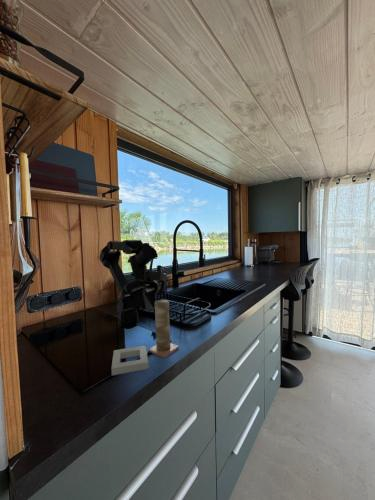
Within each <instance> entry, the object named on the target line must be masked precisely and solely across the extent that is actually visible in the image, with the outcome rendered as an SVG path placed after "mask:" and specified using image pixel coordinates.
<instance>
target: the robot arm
mask: <svg viewBox="0 0 375 500" xmlns="http://www.w3.org/2000/svg"><path fill="white" fill-rule="evenodd" d="M121 251H122V253H123V254H125V255H130V256H129V258H128V259H127V264H129V263H130V264H129V265H130V269H131V271H132V272H131V273H130V276H131V277H133V280H132V281H129V282H128V280H127V278H126V276H125V274H124V272H123V269H122V268H121V265H120V264H119V263H120V260H121V259H120V258H121V255H122V253H121ZM157 255H158V254H157V250H156V249H155V247H154V246H152V245H151V244H150V243H149V242H143V241H142V240H141V239H140V238H138V239H124V240H121V241H120V240H119V241H118V240H110V241H107V244H105V246H104V247H103V248H102V249H101V250H100V253H99V261H100V262H101V263H102V266H103V267H105V268H106V269H108V270H109V273H110V274H111V276H112V279H113V280H114V283H115V285H116V287H117V289H118V292H119V297H118V302H117V304H116V311H117V312H119V313H120V325H119V326H120V328H121V327H123V328H124V327H136V326H137V324H138V323H139V321H140V319H139V311H137V310H140V307H141V308H142V309H143V310H145V309H146V302H145V296H146V297H147V299H148V300H149V302H150V304H151V305H152V307H153V308H155V301H157V295H158V293H159V292H160V288H161V284H160V283H161V282H159V283H158V282H154V280H160V281H165V280H164V278H165V277H166V276H165V272H163V270H157V271H151V270H150V269H148V267H147V265H148V264H149V263H151V262H152V261H153V260H154V259H155V258H156V257H157ZM145 292H146V293H145ZM144 294H145V296H144Z"/></svg>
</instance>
